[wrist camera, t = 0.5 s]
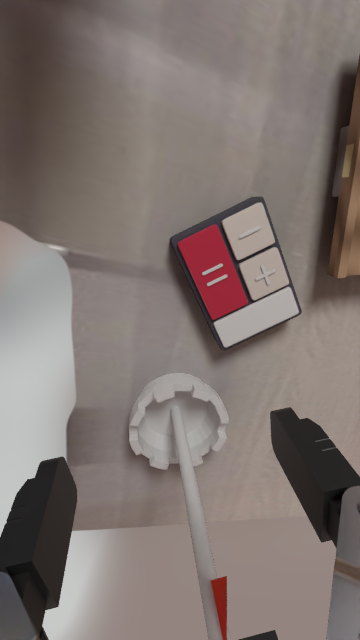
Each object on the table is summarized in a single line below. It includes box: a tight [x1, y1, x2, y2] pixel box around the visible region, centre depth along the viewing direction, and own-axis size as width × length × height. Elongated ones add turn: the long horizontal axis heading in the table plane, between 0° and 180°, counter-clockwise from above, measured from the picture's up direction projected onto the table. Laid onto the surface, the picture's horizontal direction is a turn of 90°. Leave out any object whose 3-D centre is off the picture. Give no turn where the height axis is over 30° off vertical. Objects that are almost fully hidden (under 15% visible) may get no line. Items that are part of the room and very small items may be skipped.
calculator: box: [170, 197, 302, 350], centre depth 38 cm, size 11×4×15 cm
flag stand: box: [129, 373, 231, 640], centre depth 32 cm, size 13×13×30 cm
